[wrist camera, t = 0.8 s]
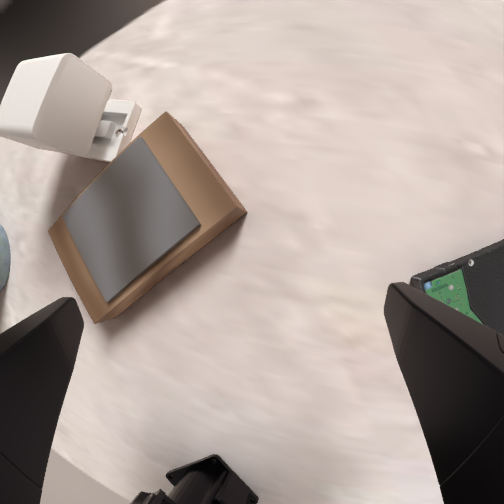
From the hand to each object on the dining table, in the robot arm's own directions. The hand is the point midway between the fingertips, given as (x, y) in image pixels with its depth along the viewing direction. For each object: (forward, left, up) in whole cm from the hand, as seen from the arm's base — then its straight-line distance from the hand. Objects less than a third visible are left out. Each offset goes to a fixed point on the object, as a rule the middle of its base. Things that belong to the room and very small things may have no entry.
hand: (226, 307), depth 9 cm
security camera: (-6, +19, -14) cm, 25 cm away
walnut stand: (-7, +9, -14) cm, 18 cm away
